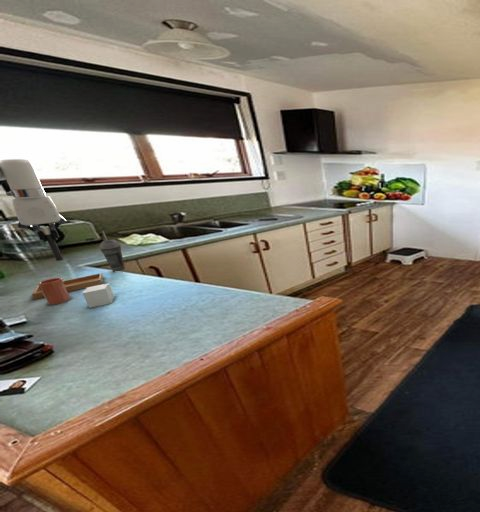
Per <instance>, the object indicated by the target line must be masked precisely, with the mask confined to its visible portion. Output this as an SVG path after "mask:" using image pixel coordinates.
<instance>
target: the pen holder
mask: <svg viewBox="0 0 480 512" xmlns="http://www.w3.org/2000/svg"><path fill="white" fill-rule="evenodd" d="M63 281H64V280H63V278H62V277H53V278H49V279H44V280H41V281H40V282H38V283H37V285H38V286H40V288H41V290H42V292H43V294H44V296H45V297H44V299H45V300H46V302H47V304H48V305H59V304H62V303H66V302H67V301H70V300H72V299H71V295H70V293H69V292H68V291H67V288H66V286H65V284H64V282H63Z"/></svg>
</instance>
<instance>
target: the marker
mask: <svg viewBox="0 0 480 512" xmlns="http://www.w3.org/2000/svg"><path fill="white" fill-rule="evenodd" d="M40 229H41V230H42V231H43V233H44V235H45V237H46V240H47V241H46V242H47V244H48V247H49V248H50V250H51V253H52V255H53V257H54V259H55V261H56V262H60V261H63V260H64V257H63V255H62V252H61V251H60V248H59V246H58V244H57V240H54V239H53V237H52V235H51V232H50V231H51V230H50V229H51V228H50V226H48V225H47V226H41V227H40Z"/></svg>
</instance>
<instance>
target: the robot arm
mask: <svg viewBox="0 0 480 512" xmlns="http://www.w3.org/2000/svg"><path fill="white" fill-rule="evenodd" d="M0 181H6V182H7V185H8V186H9V189H10V191H6V192H5V193H6V196H7V197H13V198H12V199H11V202H12V206H13V210H14V212H15V215H16V217H17V220H18V224H17V227H18V228H19V229H26V230H30V231H33V232H35V233H36V234H37V236H38V238H39V240H40V241H43V243H46V242H47V240H46V237H45V235H44V233H43V231H42V229H41V227H40V225H44V224H48V225H49V228H50V230H51V231H50V232H51V235H52V237H53V239H54V240H55V241H58V239H59V238H60V235H59V233H58V231H57V229H58V228H59V227H60V226H62V225H64V224H66V223H67V222H68V221H67V220H66V219H65V218H64V217H63V216H62V215H61V214H60V212H59V210H58V208H57V206H56V205H55V202H54V201H53V199H52V198H51V196H49V195H46V192H45V190H44V187H43V186H42V184H41V181H40V178H39V176H38V174H37V172H36V169H35V167H34V165H33V163H32V162H31V161H30V160H29V159H22V158H21V159H20V158H19V159H17V158H15V159H13V158H10V159H1V160H0Z"/></svg>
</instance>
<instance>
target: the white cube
mask: <svg viewBox="0 0 480 512" xmlns="http://www.w3.org/2000/svg"><path fill="white" fill-rule="evenodd" d="M82 295H83V297H84V300H85V302H86V304H87V306H88V308H89V309H90V308H94V307H100V306H103V305H108V304H112V303H113V301H114V299H115V295H114V292H113V289H112V288H111V284H110V283H109V282H108V283H103V284H101V285H96V286H92V287H87V288H84V290H83V292H82Z"/></svg>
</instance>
